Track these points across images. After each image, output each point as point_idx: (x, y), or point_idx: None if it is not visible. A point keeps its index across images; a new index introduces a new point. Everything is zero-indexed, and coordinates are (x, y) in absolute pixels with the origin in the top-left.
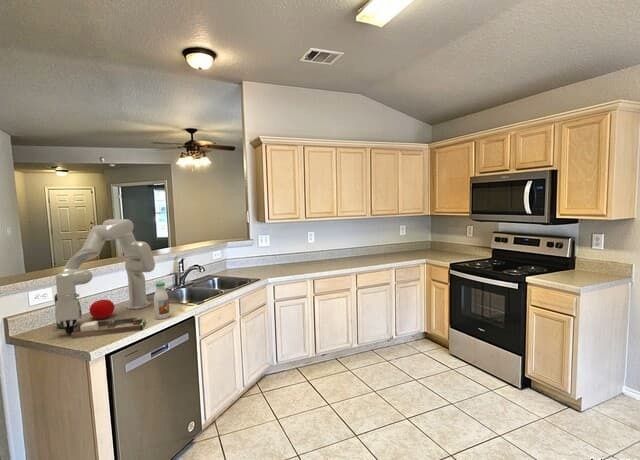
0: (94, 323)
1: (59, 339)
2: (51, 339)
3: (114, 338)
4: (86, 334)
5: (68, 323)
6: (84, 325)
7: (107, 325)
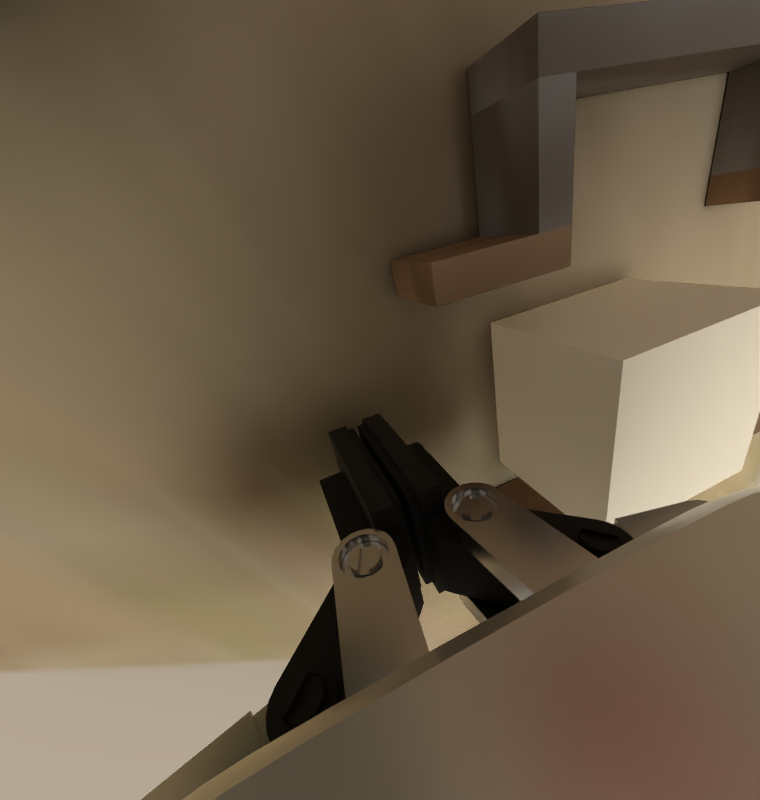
0: (749, 416)
1: (309, 572)
2: (187, 593)
3: (727, 487)
4: None
5: (399, 561)
6: (646, 503)
7: (749, 200)
